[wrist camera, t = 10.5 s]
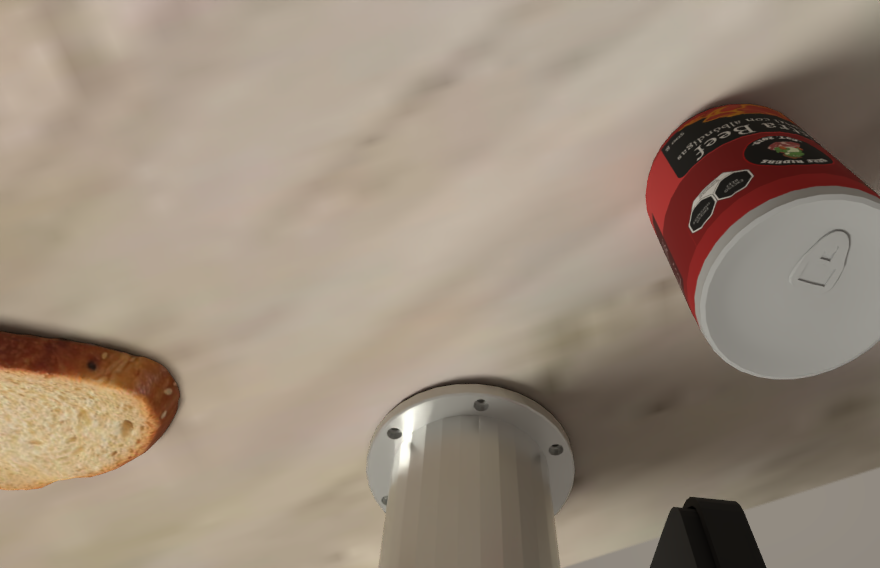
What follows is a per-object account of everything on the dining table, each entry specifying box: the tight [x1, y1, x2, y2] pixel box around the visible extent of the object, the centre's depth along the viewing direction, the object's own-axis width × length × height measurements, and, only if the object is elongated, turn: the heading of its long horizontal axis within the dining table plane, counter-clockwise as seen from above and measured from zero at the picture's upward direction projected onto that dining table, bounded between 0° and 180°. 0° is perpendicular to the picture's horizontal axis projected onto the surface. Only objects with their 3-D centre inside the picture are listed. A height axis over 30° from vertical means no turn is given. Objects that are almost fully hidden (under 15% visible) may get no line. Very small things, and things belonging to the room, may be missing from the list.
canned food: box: [646, 104, 880, 379], centre depth 32 cm, size 8×8×11 cm
